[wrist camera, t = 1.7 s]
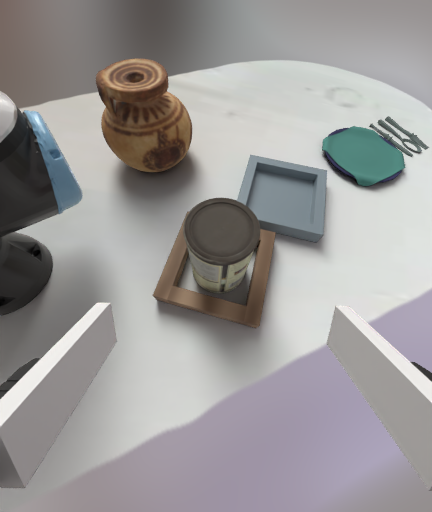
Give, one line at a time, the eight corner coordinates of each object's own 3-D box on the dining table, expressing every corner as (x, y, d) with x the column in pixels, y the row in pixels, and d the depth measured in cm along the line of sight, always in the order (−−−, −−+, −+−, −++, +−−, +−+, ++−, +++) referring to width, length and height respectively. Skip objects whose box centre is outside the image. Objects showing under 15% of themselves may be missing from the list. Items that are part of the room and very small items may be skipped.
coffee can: (206, 237, 43) (205, 187, 31) (253, 257, 41) (271, 213, 29) (181, 279, 39) (167, 242, 26) (231, 303, 37) (242, 276, 25)
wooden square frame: (157, 299, 37) (152, 295, 35) (189, 220, 45) (187, 211, 42) (255, 328, 36) (259, 325, 33) (271, 240, 43) (275, 232, 41)
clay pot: (176, 110, 57) (175, 24, 37) (199, 174, 56) (211, 121, 37) (103, 125, 53) (60, 39, 33) (129, 194, 53) (100, 147, 33)
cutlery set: (305, 147, 56) (309, 139, 54) (380, 117, 63) (386, 109, 61) (360, 198, 49) (366, 192, 47) (437, 158, 56) (446, 150, 54)
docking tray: (231, 222, 45) (233, 213, 42) (248, 165, 52) (250, 154, 50) (316, 242, 43) (323, 234, 40) (320, 180, 51) (327, 170, 48)
